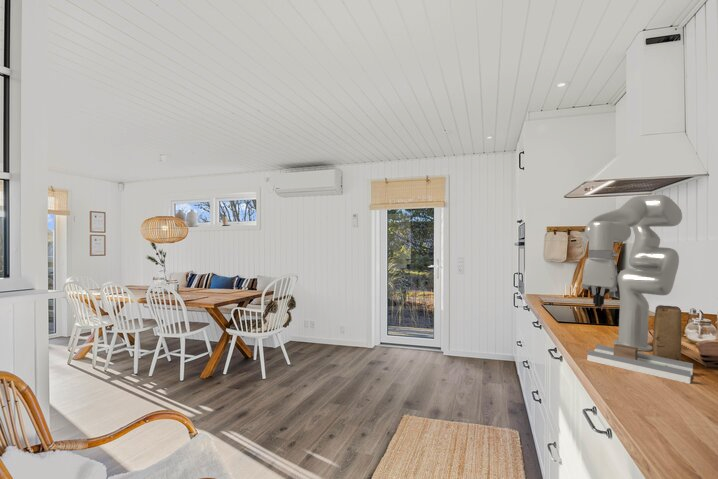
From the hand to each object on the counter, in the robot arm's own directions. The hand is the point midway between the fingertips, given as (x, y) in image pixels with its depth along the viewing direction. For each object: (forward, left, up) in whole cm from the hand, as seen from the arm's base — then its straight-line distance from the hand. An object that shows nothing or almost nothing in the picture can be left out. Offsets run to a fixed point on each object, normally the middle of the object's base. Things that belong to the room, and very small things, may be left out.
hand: (598, 306), depth 133 cm
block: (-14, +18, -19) cm, 30 cm away
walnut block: (0, +9, -17) cm, 19 cm away
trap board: (0, +12, -19) cm, 22 cm away
